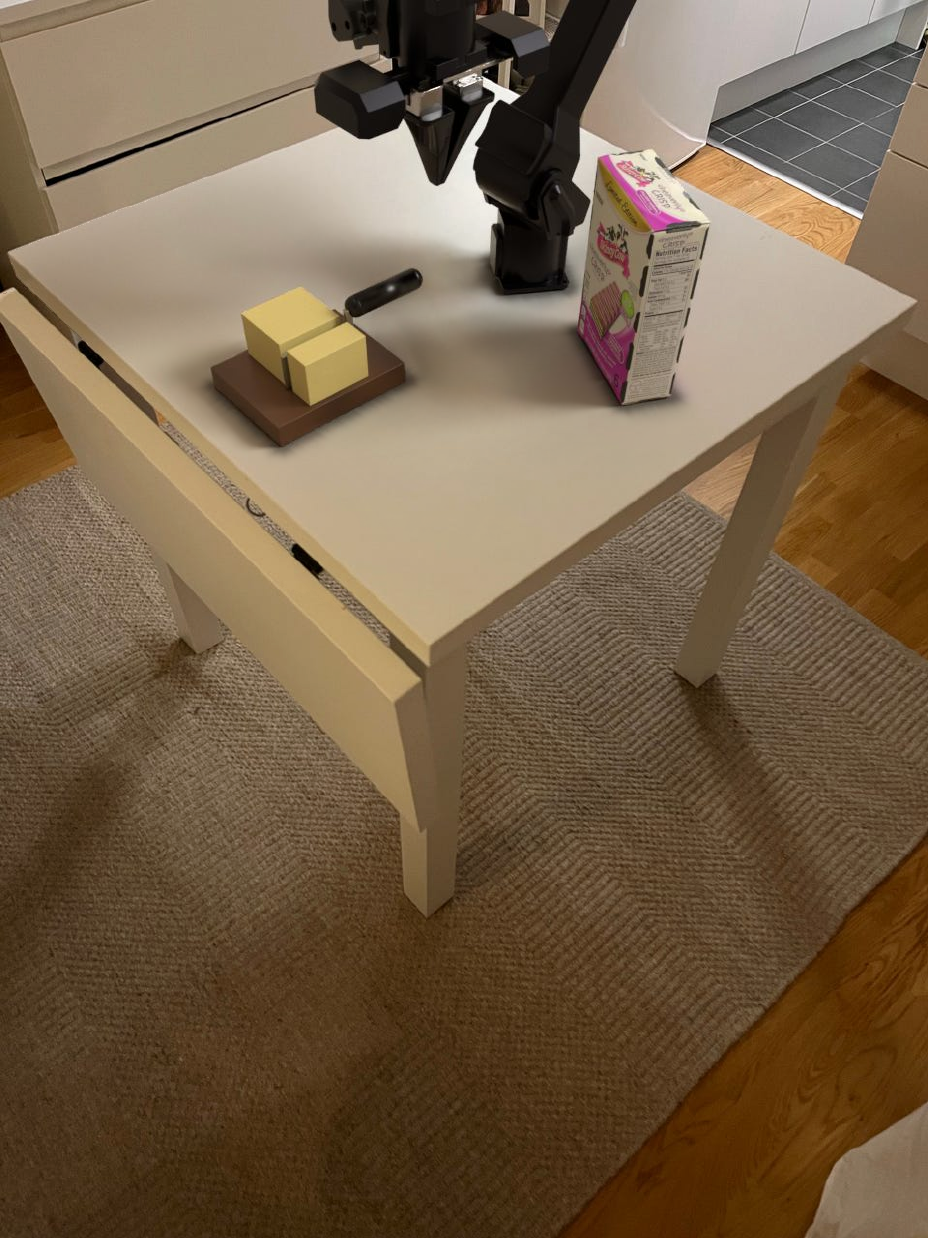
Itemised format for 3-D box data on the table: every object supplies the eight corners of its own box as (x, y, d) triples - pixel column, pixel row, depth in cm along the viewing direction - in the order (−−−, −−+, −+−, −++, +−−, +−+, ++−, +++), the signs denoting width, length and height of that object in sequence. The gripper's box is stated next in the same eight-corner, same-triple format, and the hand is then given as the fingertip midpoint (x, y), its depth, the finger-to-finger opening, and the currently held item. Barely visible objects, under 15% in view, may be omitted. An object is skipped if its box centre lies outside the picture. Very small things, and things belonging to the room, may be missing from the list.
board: (336, 327, 88) (334, 308, 86) (405, 381, 83) (405, 362, 82) (214, 386, 82) (209, 367, 81) (281, 447, 78) (277, 428, 76)
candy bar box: (572, 331, 88) (594, 153, 75) (623, 322, 89) (654, 145, 76) (618, 409, 81) (651, 228, 68) (672, 399, 82) (715, 219, 69)
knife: (414, 315, 85) (413, 260, 81) (427, 324, 84) (427, 270, 80) (280, 381, 79) (271, 327, 75) (292, 392, 79) (284, 338, 74)
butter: (305, 326, 84) (300, 285, 81) (368, 376, 80) (365, 335, 77) (248, 353, 82) (240, 312, 79) (310, 406, 78) (304, 366, 75)
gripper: (460, -97, 73) (457, 112, 86) (255, -42, 66) (285, 180, 78) (563, -55, 68) (544, 161, 81) (355, 10, 61) (369, 238, 73)
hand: (436, 182), depth 78 cm, fingers closed
